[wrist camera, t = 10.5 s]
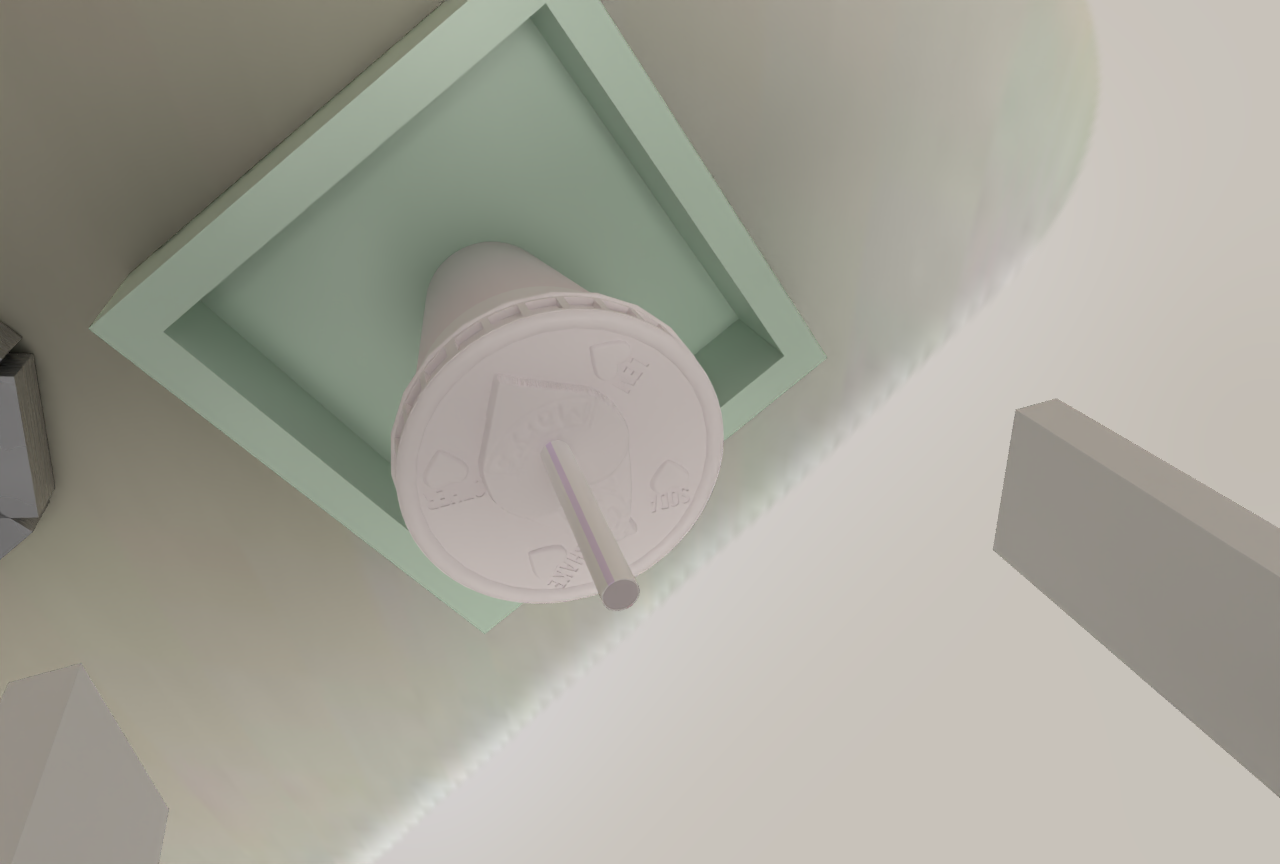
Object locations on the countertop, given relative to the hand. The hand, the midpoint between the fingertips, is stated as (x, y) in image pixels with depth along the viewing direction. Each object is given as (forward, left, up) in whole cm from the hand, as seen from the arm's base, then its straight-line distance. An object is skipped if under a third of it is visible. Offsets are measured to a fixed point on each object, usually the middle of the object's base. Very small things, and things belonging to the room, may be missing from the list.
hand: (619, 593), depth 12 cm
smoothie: (0, 0, -14) cm, 14 cm away
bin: (0, 0, -15) cm, 15 cm away
